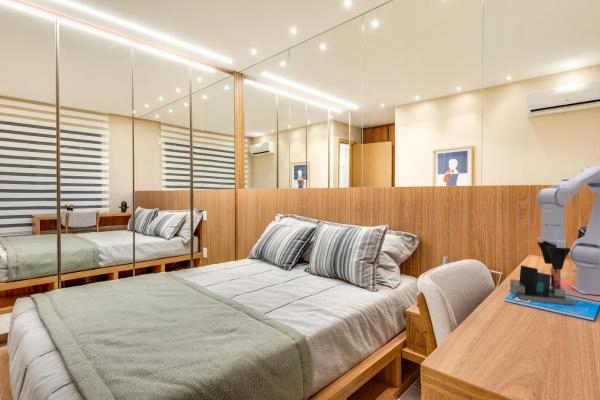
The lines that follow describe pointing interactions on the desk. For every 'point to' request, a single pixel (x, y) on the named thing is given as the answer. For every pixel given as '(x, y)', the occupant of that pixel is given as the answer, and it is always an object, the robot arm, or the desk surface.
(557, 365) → the desk surface
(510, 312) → the desk surface
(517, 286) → the vise body
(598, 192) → the robot arm
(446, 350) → the desk surface
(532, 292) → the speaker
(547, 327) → the desk surface
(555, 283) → the jaw slide
